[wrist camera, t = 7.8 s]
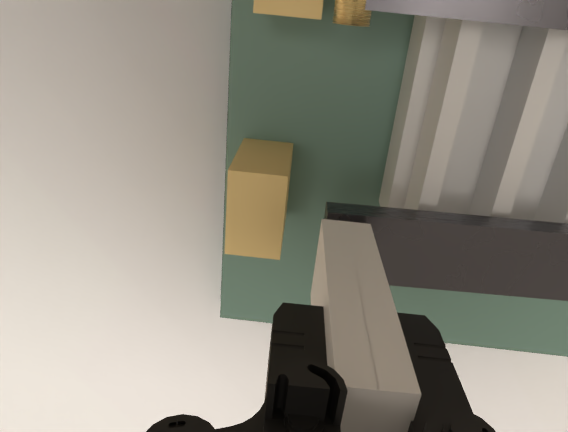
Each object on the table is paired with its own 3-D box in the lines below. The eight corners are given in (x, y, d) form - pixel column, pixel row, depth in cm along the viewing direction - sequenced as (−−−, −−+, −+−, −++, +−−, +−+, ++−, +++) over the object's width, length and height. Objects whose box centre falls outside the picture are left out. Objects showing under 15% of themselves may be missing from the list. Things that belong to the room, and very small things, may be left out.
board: (250, -330, 14) (218, -486, 9) (1010, -266, 13) (1362, -397, 9) (224, 302, 24) (203, 374, 19) (659, 351, 23) (741, 436, 19)
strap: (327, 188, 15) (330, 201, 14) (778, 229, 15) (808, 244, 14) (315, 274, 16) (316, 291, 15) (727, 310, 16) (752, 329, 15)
